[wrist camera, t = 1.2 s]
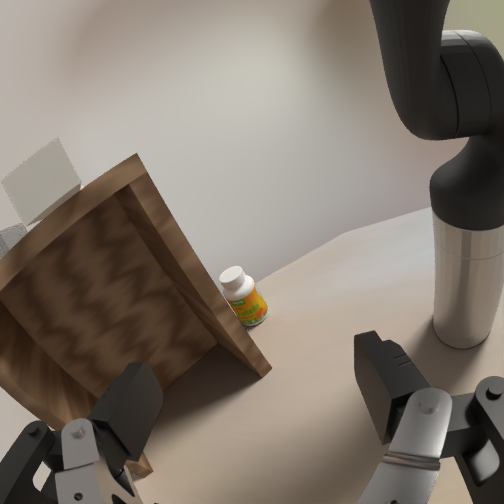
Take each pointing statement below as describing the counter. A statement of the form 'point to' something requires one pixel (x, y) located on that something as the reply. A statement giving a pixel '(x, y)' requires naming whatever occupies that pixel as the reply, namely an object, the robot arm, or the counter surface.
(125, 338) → the walnut shelf
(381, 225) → the counter surface
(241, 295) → the supplement bottle
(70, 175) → the plug
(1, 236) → the socket block
